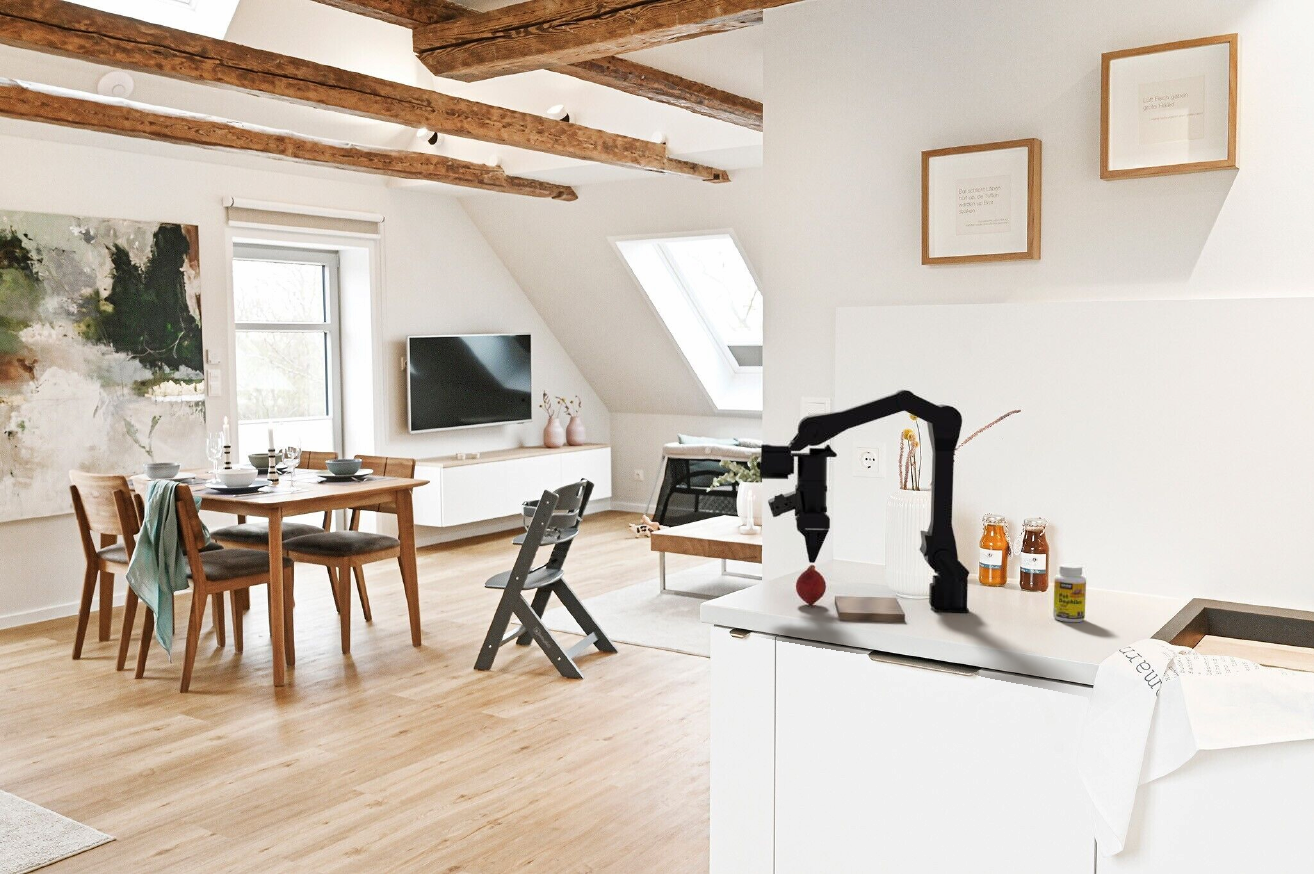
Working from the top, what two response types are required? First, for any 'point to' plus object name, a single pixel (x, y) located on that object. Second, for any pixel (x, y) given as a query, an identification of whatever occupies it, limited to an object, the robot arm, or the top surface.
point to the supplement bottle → (1069, 594)
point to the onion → (810, 585)
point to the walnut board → (869, 609)
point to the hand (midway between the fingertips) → (811, 558)
